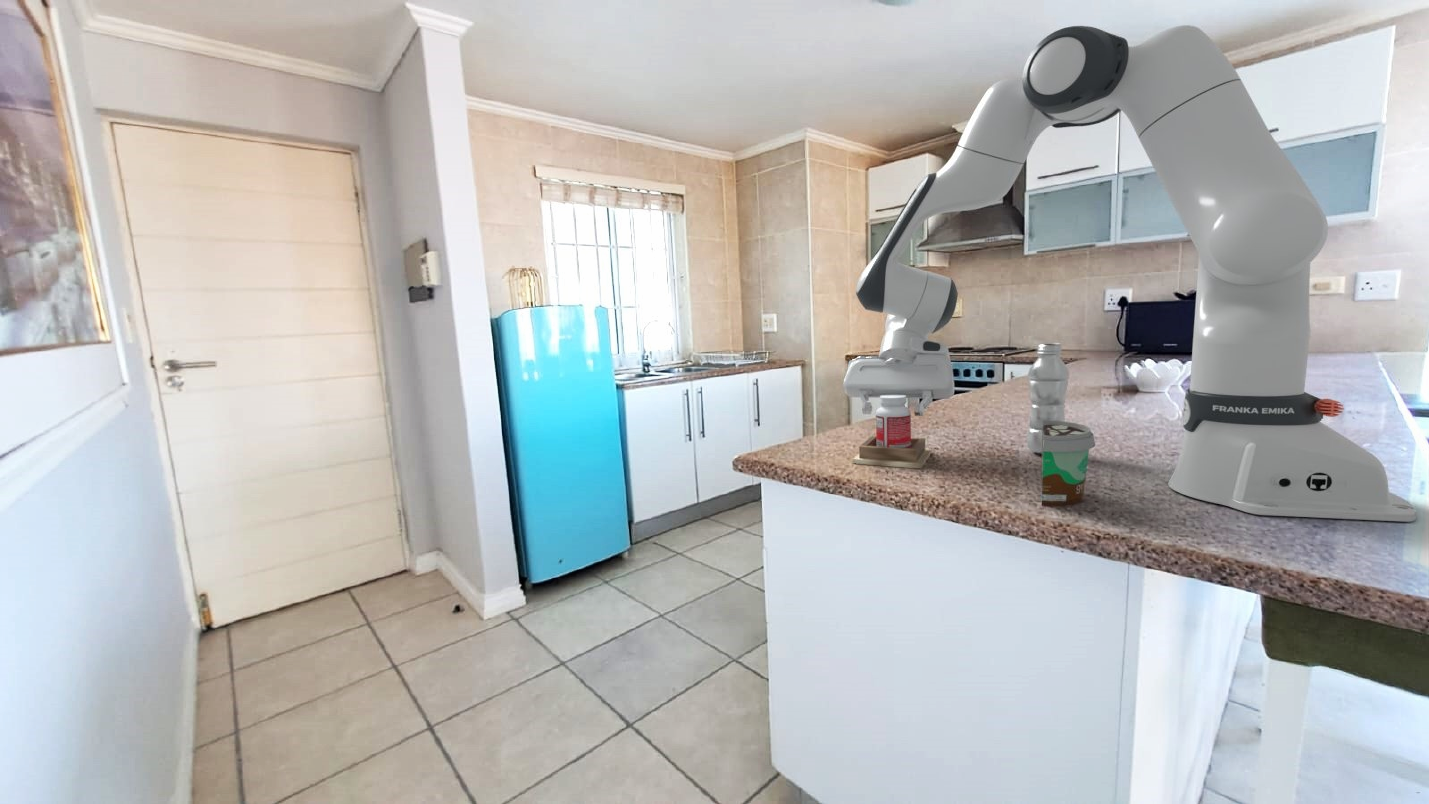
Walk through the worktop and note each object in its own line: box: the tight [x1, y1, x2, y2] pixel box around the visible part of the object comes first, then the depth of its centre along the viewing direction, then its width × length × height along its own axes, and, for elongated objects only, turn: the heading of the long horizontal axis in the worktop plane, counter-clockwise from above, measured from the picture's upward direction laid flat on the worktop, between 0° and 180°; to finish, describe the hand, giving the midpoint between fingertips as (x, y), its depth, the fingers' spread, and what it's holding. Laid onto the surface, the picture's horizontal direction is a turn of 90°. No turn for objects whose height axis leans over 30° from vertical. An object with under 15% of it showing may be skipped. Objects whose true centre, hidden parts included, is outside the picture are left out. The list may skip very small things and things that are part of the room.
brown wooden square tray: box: [852, 435, 933, 469], centre depth 104 cm, size 12×12×3 cm
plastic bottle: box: [1025, 343, 1070, 455], centre depth 100 cm, size 6×7×20 cm
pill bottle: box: [875, 394, 912, 449], centre depth 103 cm, size 6×6×11 cm
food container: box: [1040, 420, 1096, 507], centre depth 77 cm, size 12×6×10 cm, turn 150°
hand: (891, 413), depth 102 cm, fingers open, 8 cm apart
